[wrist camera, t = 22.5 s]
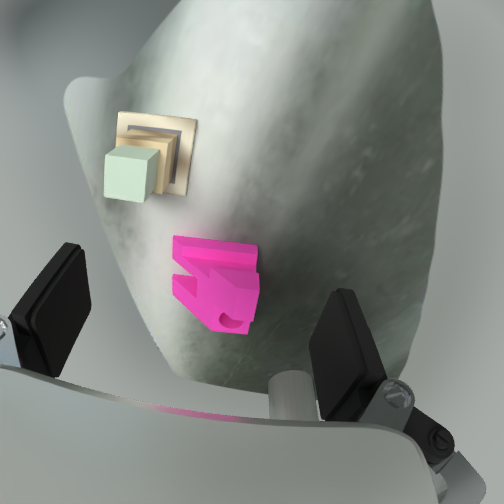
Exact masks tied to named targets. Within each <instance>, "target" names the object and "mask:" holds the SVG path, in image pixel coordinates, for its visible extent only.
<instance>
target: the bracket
mask: <svg viewBox="0 0 504 504" xmlns="http://www.w3.org/2000/svg"><path fill="white" fill-rule="evenodd" d="M257 257H258V245H251V244H243V243H234V242H226V241H218V240H209V239H201V238H192V237H184V236H175V235H174V236H173V259H174V260H175V261H176V262H177V263H179V264H180V265H181V266H182V267H183V268H184V269H186V270H187V271H188V272H189V273H190V274H192V275H193V276H194V277H193V276H184V275H177V274H173V277H172V289H173V295H174V296H175V297H176V298H177V299H178V300H179V301H180V302H181V303H182V304H183V305H184V306H185V307H187V308H188V309H189V310H190V311H191V312H192V313H193V314H194V315H195V316H196V317H197V318H198V319H199V320H200V321H202V322H203V323H204V324H205V325H206V326H207V327H208V328H209V329H210V330H211V331H219V332H228V333H238V334H248V330H249V325H250V321H251V322H253V320H254V315H255V310H256V306H257V301H258V296H259V291H260V287H259V273H256V262H257Z"/></svg>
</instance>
